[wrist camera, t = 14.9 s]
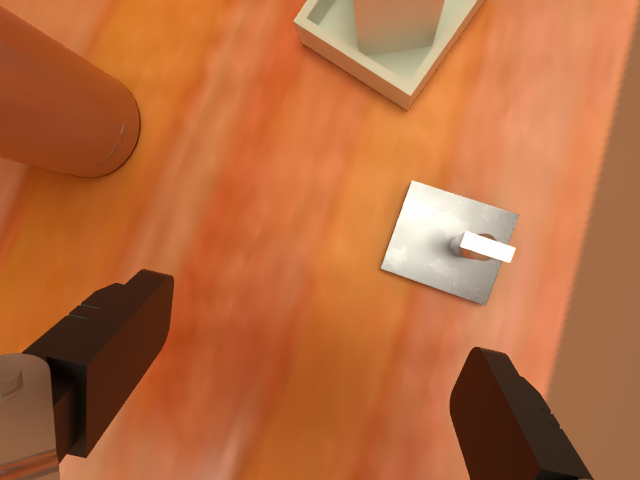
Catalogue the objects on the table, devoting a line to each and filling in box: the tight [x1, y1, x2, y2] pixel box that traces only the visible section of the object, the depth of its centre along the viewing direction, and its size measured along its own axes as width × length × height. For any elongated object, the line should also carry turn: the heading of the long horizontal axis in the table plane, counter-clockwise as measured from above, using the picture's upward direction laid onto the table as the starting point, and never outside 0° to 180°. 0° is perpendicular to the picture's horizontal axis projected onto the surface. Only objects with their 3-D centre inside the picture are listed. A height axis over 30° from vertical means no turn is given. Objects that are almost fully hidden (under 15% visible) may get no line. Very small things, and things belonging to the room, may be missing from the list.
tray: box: [293, 0, 485, 111], centre depth 30 cm, size 10×10×3 cm
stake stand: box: [381, 181, 519, 306], centre depth 27 cm, size 8×7×8 cm
